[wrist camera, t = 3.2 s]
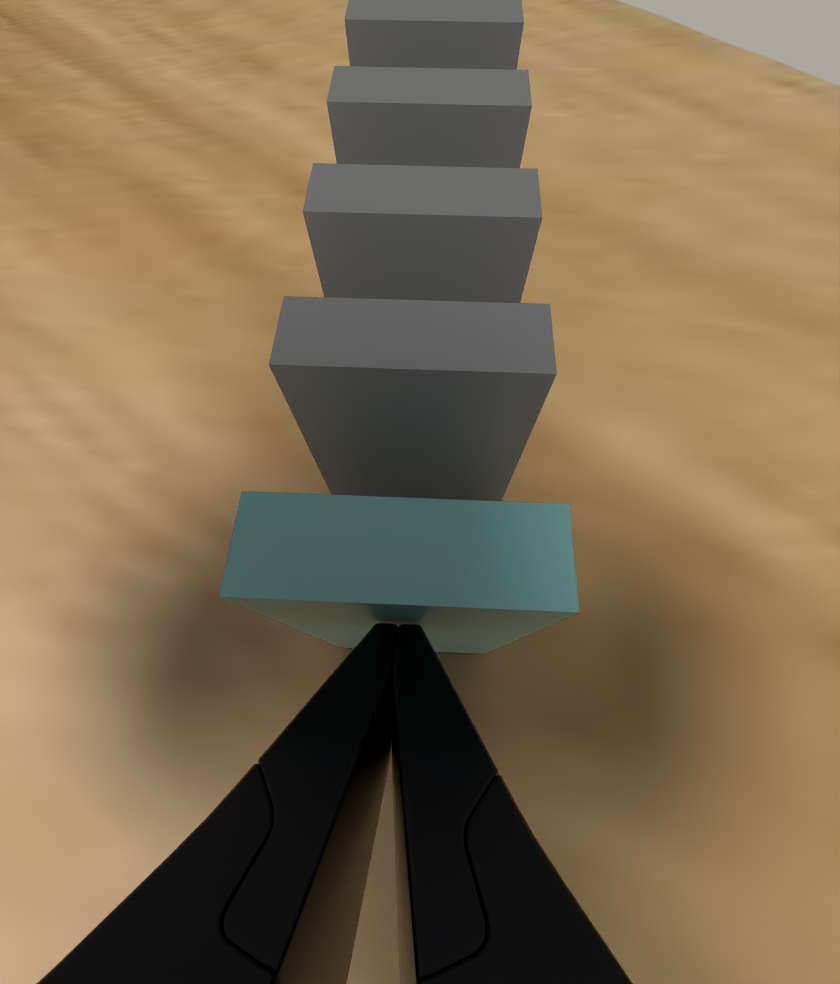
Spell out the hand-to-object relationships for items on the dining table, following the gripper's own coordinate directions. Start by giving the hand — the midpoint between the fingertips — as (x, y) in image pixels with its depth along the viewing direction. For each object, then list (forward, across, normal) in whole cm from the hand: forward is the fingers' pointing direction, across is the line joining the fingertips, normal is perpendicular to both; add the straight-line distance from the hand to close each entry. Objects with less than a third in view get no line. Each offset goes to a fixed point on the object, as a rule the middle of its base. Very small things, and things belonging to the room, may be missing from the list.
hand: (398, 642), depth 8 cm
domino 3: (+12, 0, -1) cm, 12 cm away
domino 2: (+15, 0, -4) cm, 15 cm away
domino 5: (+6, 0, +5) cm, 8 cm away
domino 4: (+9, 0, +2) cm, 9 cm away
